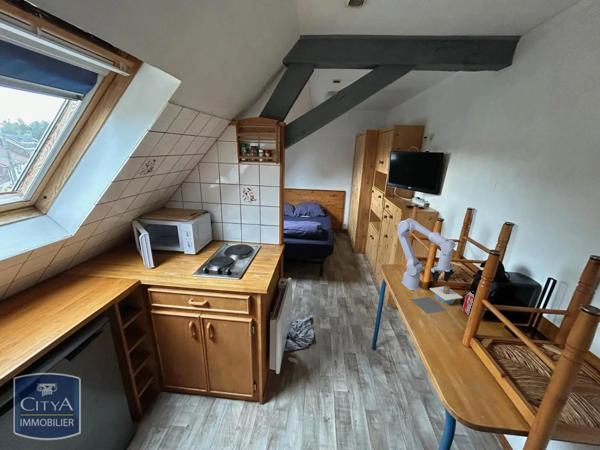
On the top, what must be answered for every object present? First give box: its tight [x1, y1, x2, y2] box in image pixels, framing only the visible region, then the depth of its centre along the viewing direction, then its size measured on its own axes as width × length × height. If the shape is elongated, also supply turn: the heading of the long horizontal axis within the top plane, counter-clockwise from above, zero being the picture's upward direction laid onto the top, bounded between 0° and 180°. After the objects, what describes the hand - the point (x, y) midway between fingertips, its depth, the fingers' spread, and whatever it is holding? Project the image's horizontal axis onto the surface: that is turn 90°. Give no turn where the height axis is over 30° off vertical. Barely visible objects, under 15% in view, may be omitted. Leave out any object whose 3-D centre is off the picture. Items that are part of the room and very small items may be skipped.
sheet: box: [429, 284, 464, 301], centre depth 141 cm, size 12×12×4 cm
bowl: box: [434, 293, 456, 305], centre depth 143 cm, size 10×10×4 cm
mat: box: [410, 296, 447, 314], centre depth 137 cm, size 13×13×1 cm
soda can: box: [462, 290, 474, 317], centre depth 129 cm, size 7×7×12 cm
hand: (440, 281), depth 142 cm, fingers open, 7 cm apart
